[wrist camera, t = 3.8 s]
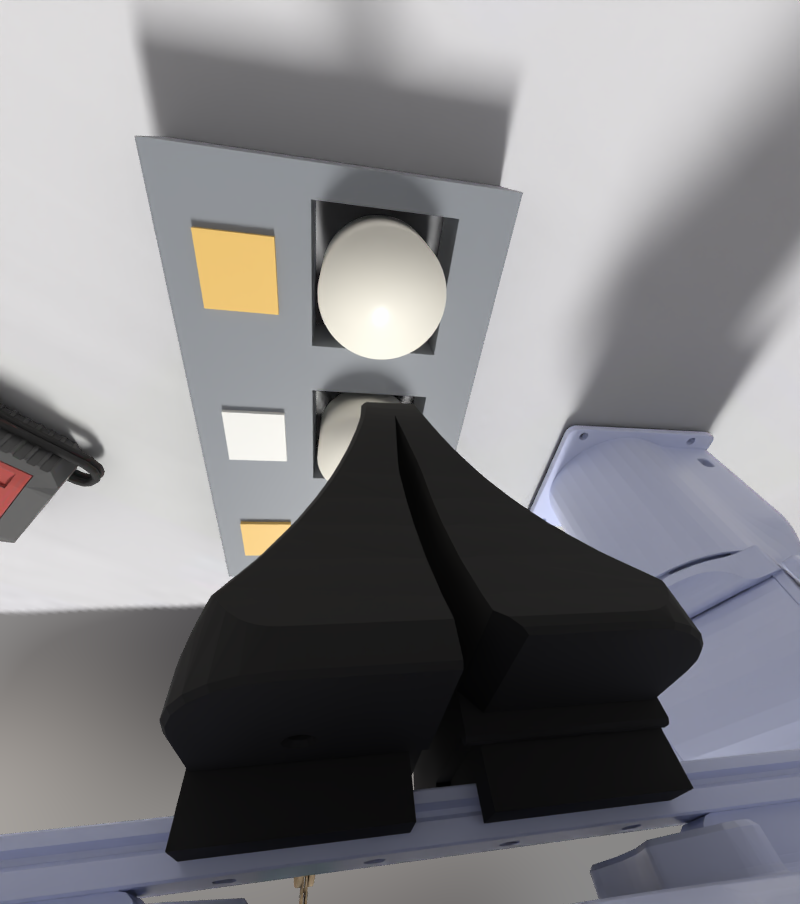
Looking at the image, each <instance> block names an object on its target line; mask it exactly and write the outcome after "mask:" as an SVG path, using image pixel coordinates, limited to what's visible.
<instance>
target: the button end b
mask: <svg viewBox="0 0 800 904" xmlns="http://www.w3.org/2000/svg"><path fill="white" fill-rule="evenodd" d="M318 304H319V309H320V313H321V316H322V319H323V321H324V323H325V325H326V327H327V329H328V330H329V332H330V333H331V334H332V336H333V337H334V338H335V339H336V340H337V341H338V342H339V343H340V344H341V345H342V346H344V347H345V348H346V349H348V350H349V351H351V352H353V353H355V354H357V355H360V356H362V357H366V358H370V359H393V358H397V357H401V356H404V355H406V354H409V353H411V352H412V351H414V350H416V349H417V348H419V347H420V346H421V345H423V344H424V343H425V342H426V341H427V340H428V339H429V338H430V337H431V336H432V334H433V333H434V331H435V330H436V329H437V327H438V325H439V323H440V321H441V318H442V316H443V313H444V309H445V305H446V281H445V277H444V273H443V270H442V267H441V265H440V263H439V261H438V259H437V257H436V256H435V254H434V253H433V252H432V250H431V249H430V248H429V246H428V245H427V244H426V243H425V241H424V240H423V239H422V237H421V236H420V235H419V234H418V233H417V232H416V231H415V230H414V229H413V228H412V227H411V226H409V225H408V224H407V223H405V222H403V221H401V220H399V219H397V218H394V217H391V216H386V215H368V216H364V217H360V218H358V219H355V220H353V221H351V222H350V223H348V224H346V225H345V226H344V227H343V228H341V229H340V230H339V231H338V232H337V234H336V235H335V236H334V237H333V239H332V240H331V242H330V243H329V245H328V247H327V249H326V252H325V255H324V258H323V263H322V268H321V272H320V277H319V282H318Z"/></svg>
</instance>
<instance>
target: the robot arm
mask: <svg viewBox="0 0 800 904" xmlns="http://www.w3.org/2000/svg"><path fill="white" fill-rule="evenodd" d="M583 433H584V435H582V436H580V435H581V434H583ZM712 441H713V436H712V435H711V434H710V433H708V432H696V431H677V430H657V429H637V428H617V427H597V426H578V425H576V426H572V427H569V428H568V429H567V430H566V432H565V434H564V436H563V438H562V440H561V442H560V445H559V447H558V449H557V451H556V454H555V456H554V458H553V460H552V462H551V465H550V467H549V469H548V471H547V474H546V476H545V478H544V480H543V483H542V485H541V487H540V489H539V491H538V494H537V496H536V498H535V500H534V503H533V505H532V507H531V509H530V511H529V510H528V509H526V508H525V507H523V506H522V505H520V504H519V503H518V502H516V501H515V500H513V499H512V498H510V497H509V496H508V495H506V494H505V493H504V492H503V491H501V490H500V489H499V488H497V487H496V486H495V485H494V484H492V483H491V482H490V481H488V480H487V479H486V478H485V477H484V476H482V475H481V474H480V473H479V472H478V471H477V470H476V469H474V468H473V467H472V466H471V465H470V464H469V463H468V462H467V461H466V460H465V459H464V458H463V457H461V456H460V455H459V454H458V453H457V452H456V451H455V450H454V449H453V448H452V447H451V445H450V444H449V443H448V442H447V441H446V440H445V439H444V438H443V437H442V436H441V435H440V434H439V433H438V431H437V430H436V429H435V428H434V427H433V426H432V425H431V423H430V422H429V421H428V420H427V419H426V418H425V416H424V415H423V414H422V413H421V412H420V411H419V409H418V408H417V407H416V406H415V405H414V404H404V403H380V402H365V403H364V404H363V405H361V415H360V419H359V422H358V425H357V428H356V431H355V433H354V435H353V437H352V440H351V442H350V444H349V446H348V448H347V450H346V452H345V454H344V456H343V457H342V459H341V461H340V463H339V464H338V466H337V468H336V469H335V471H334V472H333V474H332V476H331V477H330V479H329V480H328V481H327V483H326V484H325V486H324V487H323V488H322V490H321V491H320V492H319V494H318V495H317V496H316V498H315V499H314V500H313V501H312V502H311V504H310V505H309V506H308V507H307V508H306V510H305V511H304V512H303V513H302V514H301V515H300V517H299V518H298V519H297V520H296V521H295V522H294V523H293V524H292V525H291V526H290V527H289V528H288V529H287V530H286V531H285V532H284V533H283V534H282V535H281V536H280V537H279V538H278V539H277V540H276V541H275V542H274V543H273V544H272V545H271V546H270V547H269V548H268V549H267V550H266V551H265V552H264V553H262V554H261V555H260V556H259V557H258V558H257V559H256V560H255V561H253V562H252V563H251V564H250V565H248V566H247V567H246V568H245V569H244V570H242V571H241V572H240V573H239V574H237V575H236V576H235V577H234V578H233V579H231V580H230V581H229V582H228V583H226V584H225V585H224V586H223V587H222V588H220V589H219V590H218V591H217V592H215V593H214V594H213V595H212V596H211V597H210V599H209V601H208V602H207V604H206V606H205V608H204V609H203V611H202V613H201V615H200V617H199V619H198V621H197V622H196V624H195V627H194V628H193V630H192V632H191V635H190V637H189V639H188V641H187V643H186V645H185V648H184V650H183V652H182V654H181V656H180V659H179V662H178V664H177V667H176V670H175V673H174V676H173V679H172V682H171V686H170V689H169V692H168V695H167V698H166V701H165V705H164V708H163V711H162V714H161V718H160V724H161V728H162V731H163V734H164V735H165V737H166V738H167V740H168V741H169V743H170V744H171V746H172V747H173V749H174V750H175V752H176V753H177V755H178V756H179V758H180V759H181V761H182V762H183V764H184V765H185V767H186V771H185V776H184V779H183V783H182V787H181V791H180V795H179V799H178V803H177V806H176V811H175V815H174V816H168V817H160V818H151V819H141V820H131V821H122V822H114V823H103V824H95V825H85V826H76V827H67V828H58V829H48V830H38V831H30V832H20V833H11V834H1V835H0V904H145V903H144V902H143V901H142V900H141V899H140V898H146V897H153V896H160V895H168V894H175V893H183V892H190V891H198V890H205V889H212V888H220V887H227V886H234V885H242V884H249V883H257V882H264V881H271V880H279V879H286V878H294V877H301V876H308V875H315V874H323V873H330V872H338V871H344V870H353V869H360V868H367V867H374V866H382V865H390V864H397V863H404V862H411V861H419V860H427V859H434V858H441V857H448V856H456V855H463V854H470V853H478V852H486V851H493V850H500V849H508V848H515V847H523V846H530V845H537V844H545V843H552V842H560V841H567V840H574V839H582V838H589V837H596V836H604V835H611V834H619V833H626V832H633V831H641V830H648V829H656V828H663V827H670V826H678V825H683V826H682V829H681V832H680V833H676V834H671V835H667V836H663V837H659V838H654V839H650V840H647V841H645V842H644V843H642V844H641V845H640V846H638V847H637V848H636V849H633V850H631V851H629V852H627V853H625V854H622V855H620V856H618V857H615V858H612V859H609V860H606V861H603V862H600V863H597V864H594V865H592V867H591V870H590V873H591V877H592V880H593V883H594V885H595V889H596V892H597V895H598V898H599V899H597V900H592V901H585V902H579V903H573V904H800V542H799V539H798V537H797V535H796V533H795V531H794V529H793V528H792V526H791V525H790V523H789V522H788V521H787V520H786V519H785V517H784V516H783V515H782V514H781V513H779V512H778V511H777V510H776V509H775V508H774V507H772V506H771V505H770V504H769V503H768V502H767V501H765V500H764V499H763V498H762V497H761V496H760V495H758V494H757V493H756V492H755V491H754V490H753V489H751V488H750V487H749V486H748V485H747V484H746V483H744V482H743V481H742V480H741V479H740V478H738V477H737V476H736V475H735V474H734V473H733V472H731V471H730V470H729V469H728V468H727V467H726V466H724V465H723V464H722V463H721V462H720V461H719V460H717V459H716V458H715V457H714V456H713V455H712V454H710V453H709V452H708V451H707V449H708V447H709V446H710V445H711V443H712ZM555 526H562V527H563V529H564V531H565V532H566V533H565V532H563V531H562V530H560V529H558V528H557V527H555ZM412 773H414V790H413V785H412ZM150 904H248V903H247V902H246V900H245V899H244V898H237V899H218V900H199V901H181V902H162V903H150Z"/></svg>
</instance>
